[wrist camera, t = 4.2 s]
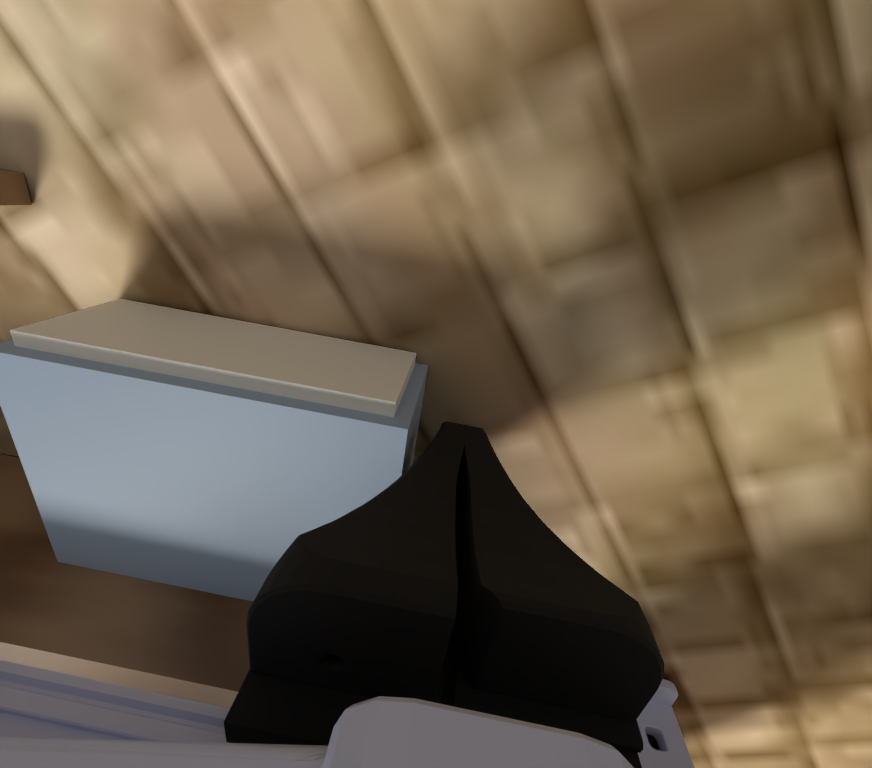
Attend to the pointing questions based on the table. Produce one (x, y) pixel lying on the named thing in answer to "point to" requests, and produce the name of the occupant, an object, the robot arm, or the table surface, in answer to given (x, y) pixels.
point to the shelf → (107, 603)
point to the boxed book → (200, 437)
